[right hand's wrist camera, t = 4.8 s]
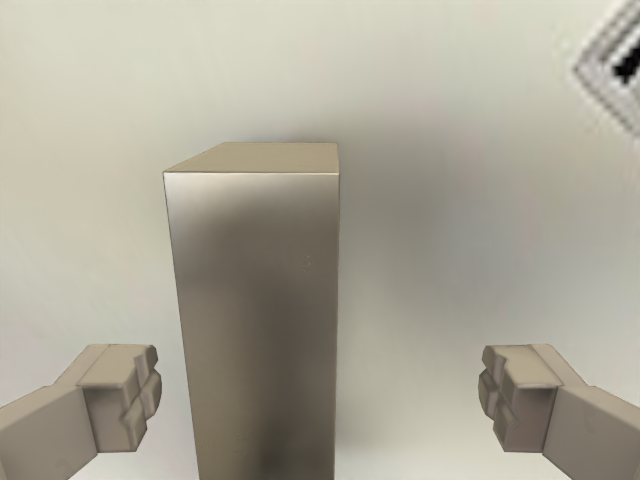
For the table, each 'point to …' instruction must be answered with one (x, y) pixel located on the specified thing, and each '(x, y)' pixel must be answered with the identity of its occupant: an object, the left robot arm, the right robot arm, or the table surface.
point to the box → (259, 305)
